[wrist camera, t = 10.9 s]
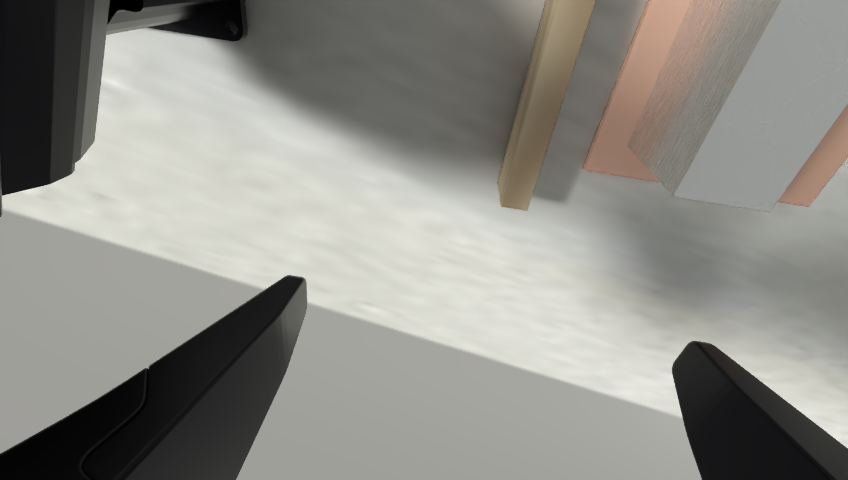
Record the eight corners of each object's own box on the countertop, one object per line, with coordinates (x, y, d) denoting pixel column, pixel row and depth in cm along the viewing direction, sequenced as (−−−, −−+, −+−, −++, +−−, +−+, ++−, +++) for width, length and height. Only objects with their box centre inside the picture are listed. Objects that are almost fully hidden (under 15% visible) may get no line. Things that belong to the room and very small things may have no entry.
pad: (582, 167, 20) (584, 169, 19) (734, -223, 12) (740, -227, 12) (804, 203, 20) (808, 206, 19) (1086, -163, 12) (1099, -166, 12)
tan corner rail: (497, 182, 20) (501, 206, 18) (657, -421, 11) (705, -517, 8) (779, 228, 21) (814, 257, 18) (1202, -327, 11) (1380, -398, 9)
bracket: (757, -150, 13) (894, -206, 9) (1001, -109, 13) (1253, -146, 9) (626, 145, 19) (673, 196, 14) (797, 173, 19) (892, 231, 14)
